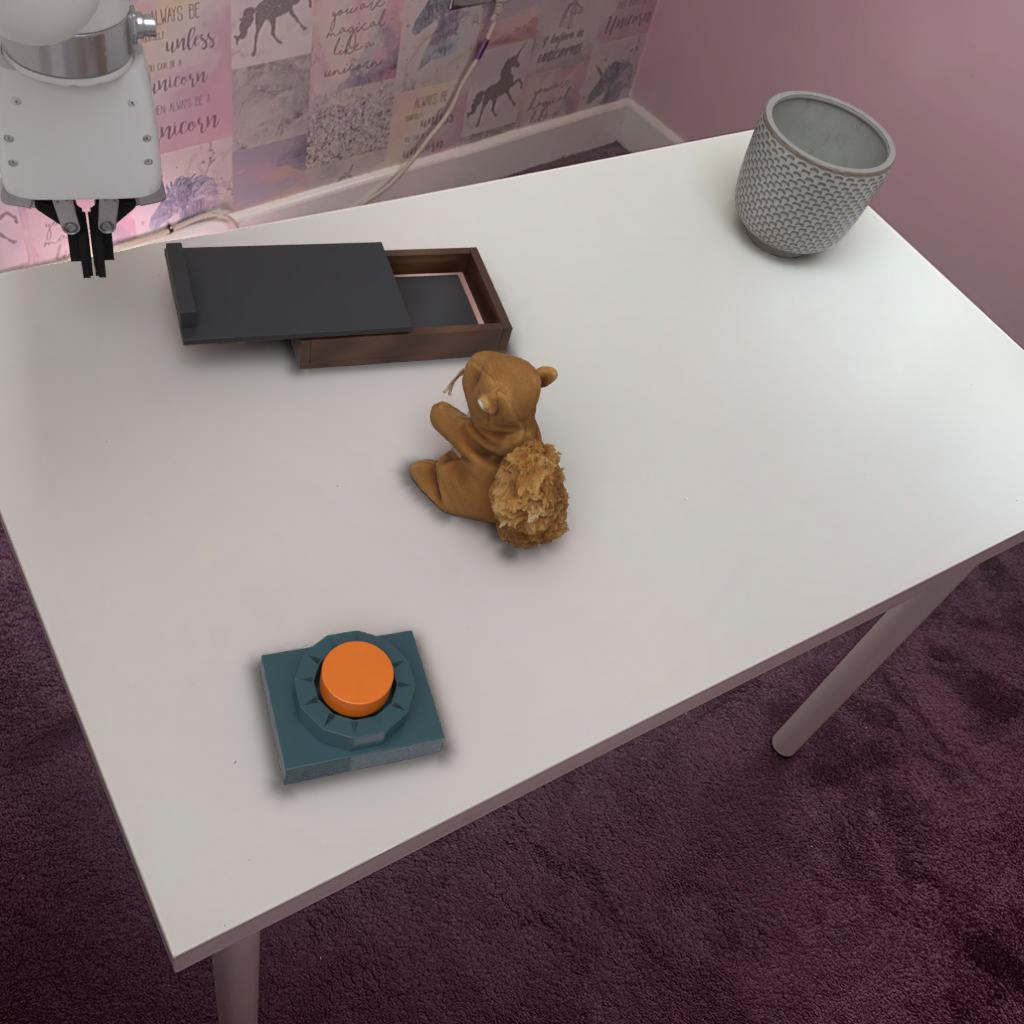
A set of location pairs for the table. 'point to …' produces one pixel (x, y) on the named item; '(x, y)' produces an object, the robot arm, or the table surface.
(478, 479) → the stuffed squirrel
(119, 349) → the table surface
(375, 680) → the button
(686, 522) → the table surface
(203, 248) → the lid
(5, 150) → the robot arm
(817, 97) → the planter
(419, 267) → the wooden box
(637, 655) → the table surface
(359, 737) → the dark teal square block
